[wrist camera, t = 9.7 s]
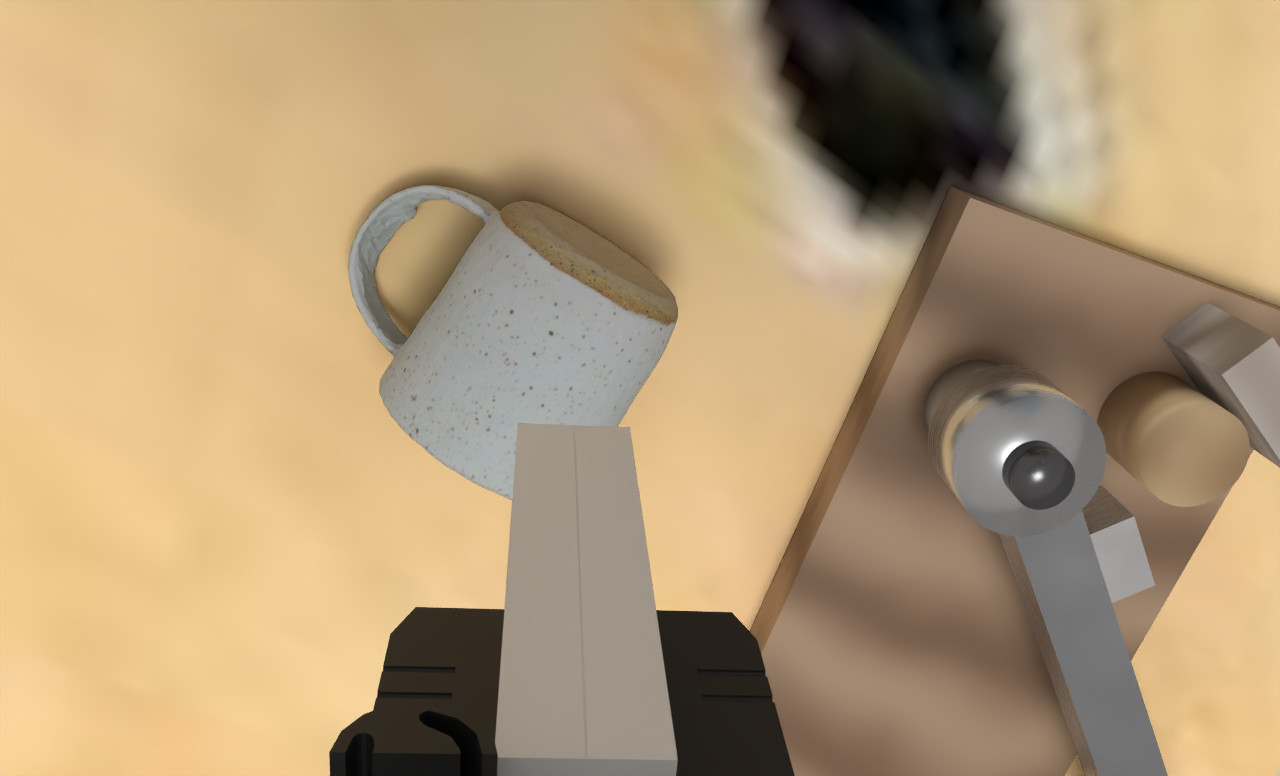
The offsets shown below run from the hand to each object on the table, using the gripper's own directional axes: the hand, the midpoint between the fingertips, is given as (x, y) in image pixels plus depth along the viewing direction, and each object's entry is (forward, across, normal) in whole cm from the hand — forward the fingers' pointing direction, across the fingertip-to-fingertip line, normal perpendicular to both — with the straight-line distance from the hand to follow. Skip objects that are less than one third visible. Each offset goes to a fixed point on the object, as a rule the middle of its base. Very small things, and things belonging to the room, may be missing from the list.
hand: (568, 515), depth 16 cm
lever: (+23, +21, -17) cm, 35 cm away
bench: (+26, +17, -18) cm, 36 cm away
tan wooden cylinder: (+25, +22, -8) cm, 34 cm away
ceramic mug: (+27, -2, -6) cm, 27 cm away
